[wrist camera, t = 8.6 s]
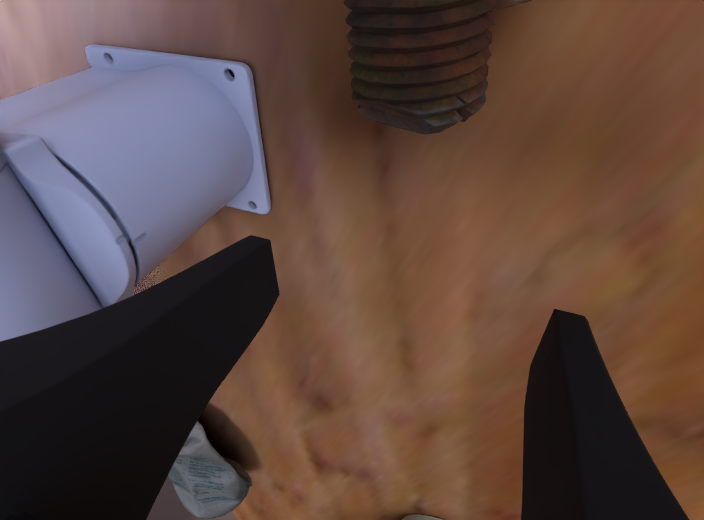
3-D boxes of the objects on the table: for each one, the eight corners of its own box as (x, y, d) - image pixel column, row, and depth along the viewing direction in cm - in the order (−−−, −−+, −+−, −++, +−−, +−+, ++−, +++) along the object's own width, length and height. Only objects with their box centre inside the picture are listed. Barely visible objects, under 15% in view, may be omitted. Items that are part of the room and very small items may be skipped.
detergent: (273, 481, 52) (191, 348, 37) (238, 543, 47) (127, 419, 32) (195, 445, 58) (96, 317, 43) (156, 497, 53) (30, 374, 38)
